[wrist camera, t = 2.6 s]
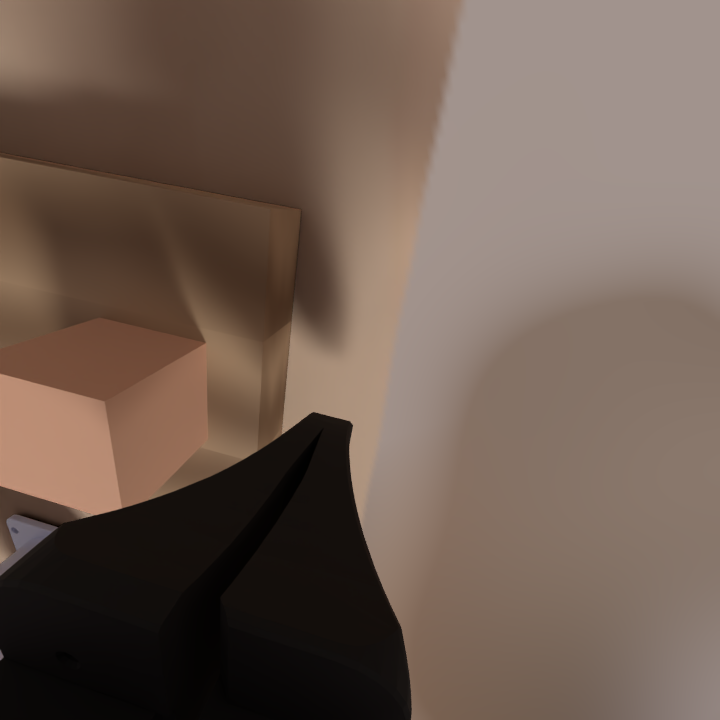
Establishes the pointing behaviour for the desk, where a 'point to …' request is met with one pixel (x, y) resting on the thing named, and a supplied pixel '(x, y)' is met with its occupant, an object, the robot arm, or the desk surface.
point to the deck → (158, 284)
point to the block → (100, 413)
